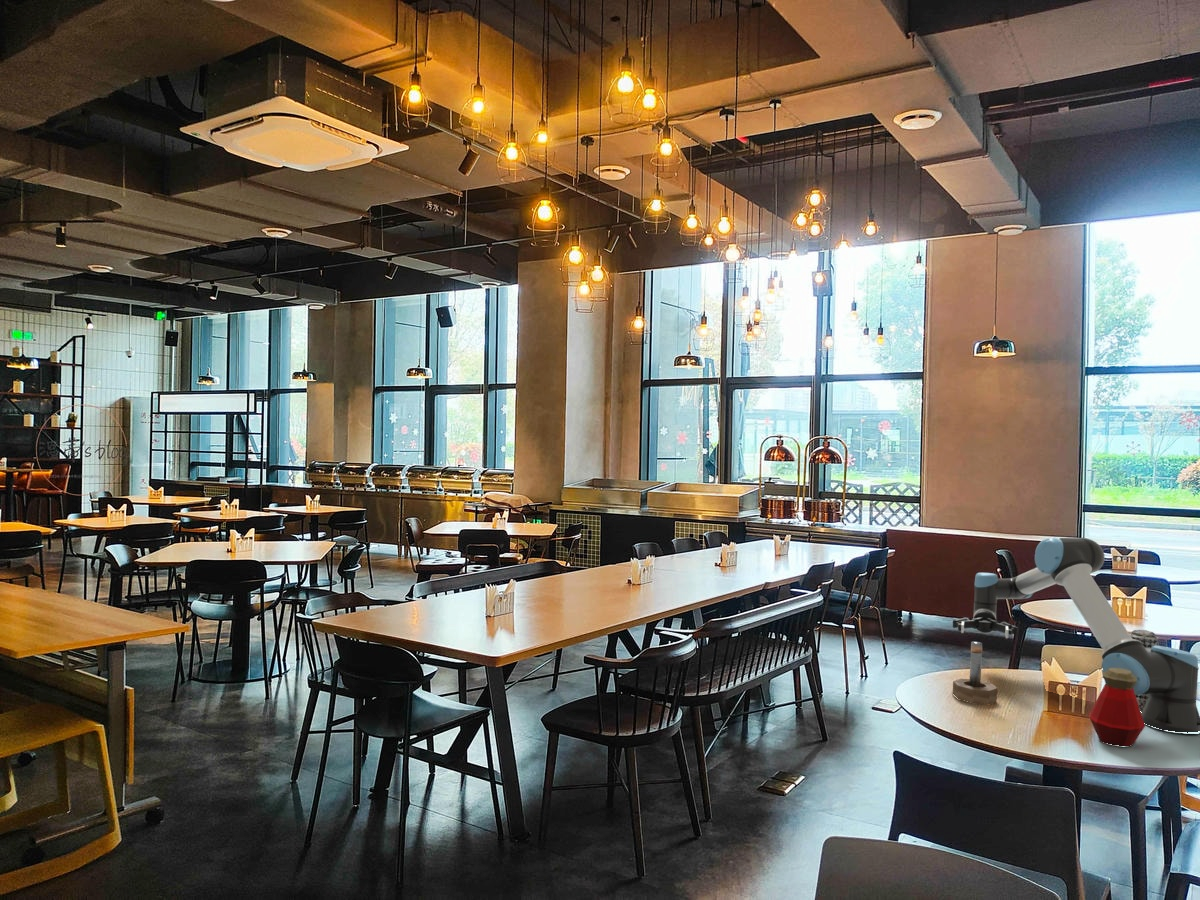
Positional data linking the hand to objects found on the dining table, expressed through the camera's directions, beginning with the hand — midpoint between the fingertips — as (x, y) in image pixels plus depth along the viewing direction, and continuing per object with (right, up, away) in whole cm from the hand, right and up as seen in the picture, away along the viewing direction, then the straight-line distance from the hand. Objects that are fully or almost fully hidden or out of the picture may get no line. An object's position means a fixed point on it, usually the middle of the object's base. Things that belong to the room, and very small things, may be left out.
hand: (984, 631), depth 280 cm
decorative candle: (+41, -21, -16) cm, 50 cm away
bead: (-8, -19, -11) cm, 23 cm away
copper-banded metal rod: (-8, -19, -10) cm, 23 cm away
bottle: (+16, -21, -46) cm, 53 cm away
